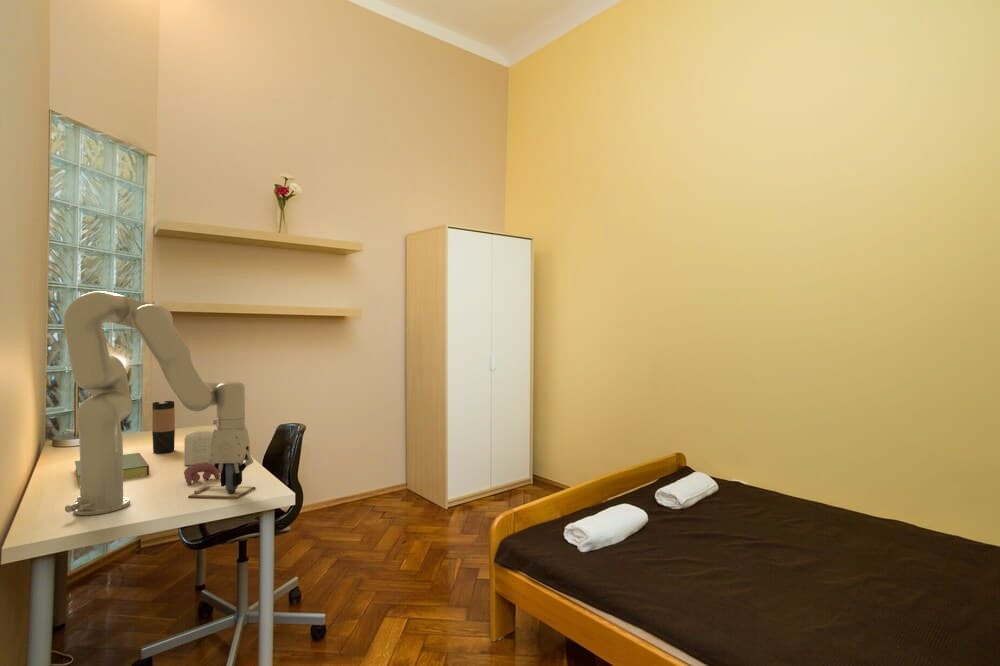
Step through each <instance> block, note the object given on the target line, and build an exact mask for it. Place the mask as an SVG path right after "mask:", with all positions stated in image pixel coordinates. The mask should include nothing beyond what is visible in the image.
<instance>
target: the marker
mask: <svg viewBox="0 0 1000 666" xmlns="http://www.w3.org/2000/svg"><path fill="white" fill-rule="evenodd" d="M234 473H235V467H234V464H225V490H227V493H234V492H236V489H237V488H238V487H239V486H236V487H234V486H233V474H234Z"/></svg>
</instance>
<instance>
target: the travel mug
mask: <svg viewBox="0 0 1000 666" xmlns="http://www.w3.org/2000/svg"><path fill="white" fill-rule="evenodd" d="M151 405H152V406H151V407H152V409H151V410H152V411H151V412H152V413H151V414H152V416H151V418H152V420H151V424H152V425H151V429H152V431H151V435H152V452H153V454H158V455H161V454H169V453H172V452H175V440H176V439H175V437H176V435H175V434H176V433H175V432H176V430H175V429H176V428H175V425H176V424H175V423H176V422H175V419H176V418H175V413H176V412H175V401H173V400H166V401H164V402H163V401H162V402H159V401H153V402H152V404H151Z"/></svg>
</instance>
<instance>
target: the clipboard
mask: <svg viewBox="0 0 1000 666" xmlns="http://www.w3.org/2000/svg"><path fill="white" fill-rule="evenodd" d="M237 487H238V488H237V489H236V492H234V493H227V490H225V486H221V485H204V486H201V487H199V488H197V489H195V490H194V493H192V494H190V495H188V497H189V498H188V497H187V498H188V499H214V498H222V499H223V498H224V499H225V500H238V499H240V498H242V497H243V496H245V495H247V494H249V493H250V492H252V491H254V490H255V489H256V486H237ZM253 489H254V490H253ZM251 490H252V491H251ZM249 491H250V492H249ZM248 492H249V493H248ZM246 493H247V494H246ZM241 496H242V497H241ZM224 499H223V500H224Z"/></svg>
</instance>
